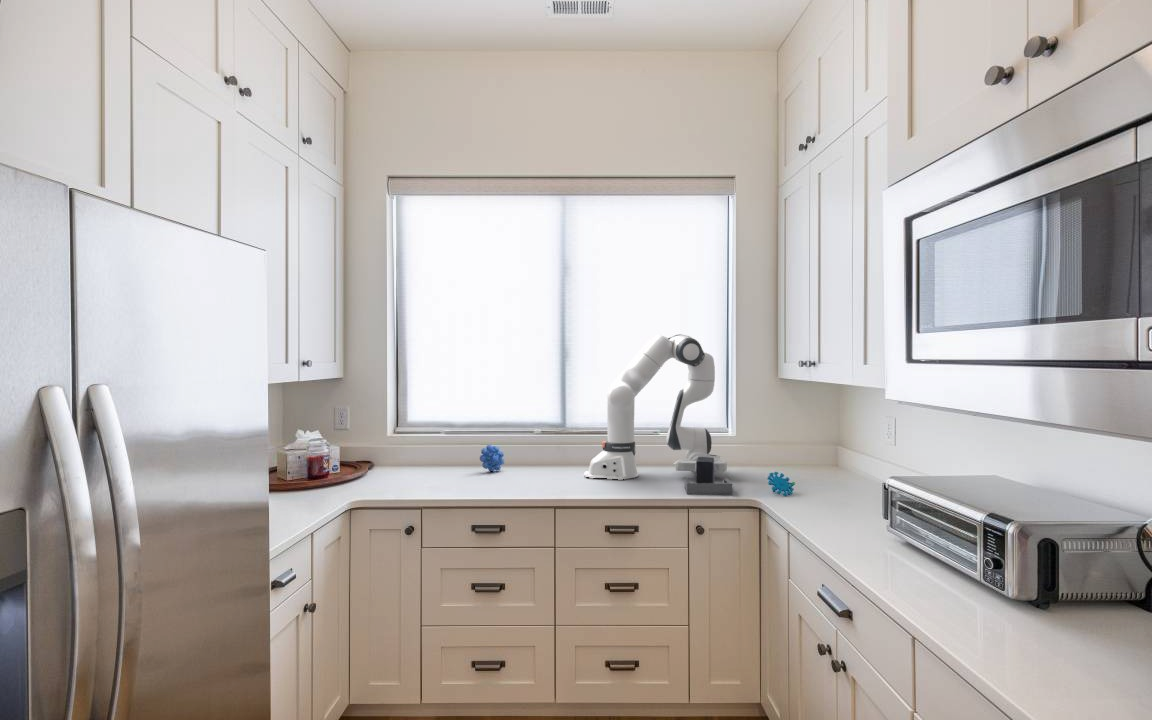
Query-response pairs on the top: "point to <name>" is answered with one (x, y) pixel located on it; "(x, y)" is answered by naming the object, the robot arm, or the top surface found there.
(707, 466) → the small box
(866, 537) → the top surface
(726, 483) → the centring channel
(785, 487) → the blue virus model
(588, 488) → the top surface
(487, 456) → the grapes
